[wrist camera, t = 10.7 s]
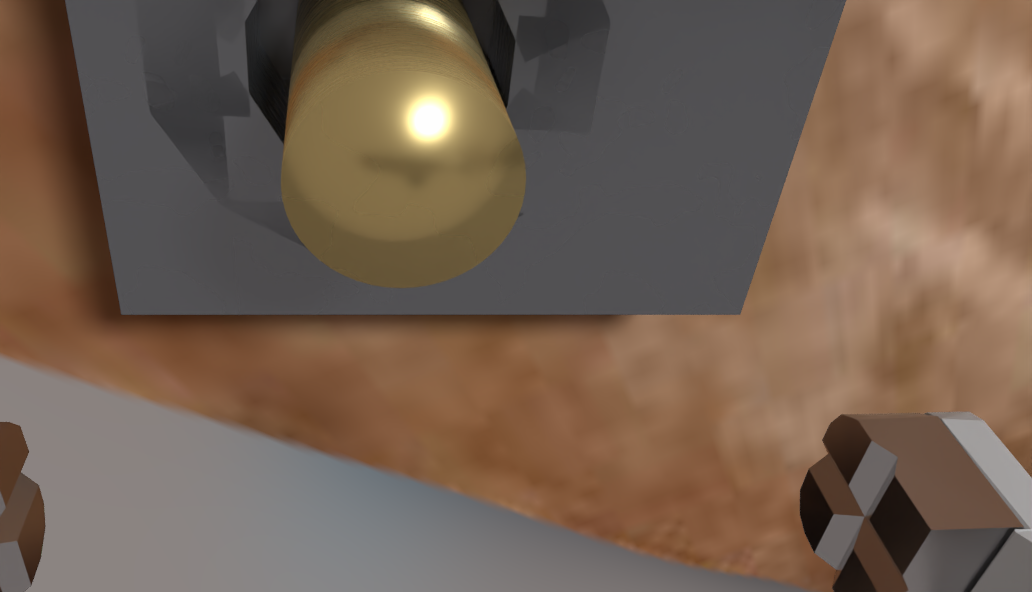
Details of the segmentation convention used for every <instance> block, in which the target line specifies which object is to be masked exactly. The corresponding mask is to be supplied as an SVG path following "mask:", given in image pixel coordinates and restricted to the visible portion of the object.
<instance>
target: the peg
mask: <svg viewBox="0 0 1032 592" xmlns="http://www.w3.org/2000/svg"><path fill="white" fill-rule="evenodd" d="M525 187H526V168H525V161H524V157H523V152H522V149H521V146H520V143H519V141H518V138H517V136H516V133H515V131H514V128H513V126H512V123H511V121H510V118H509V116H508V113H507V111H506V108H505V106H504V103H503V101H502V98H501V96H500V94H499V91H498V89H497V86H496V84H495V81H494V79H493V76H492V74H491V71H490V69H489V66H488V64H487V61H486V59H485V56H484V54H483V51H482V49H481V46H480V44H479V42H478V39H477V37H476V34H475V32H474V29H473V27H472V24H471V22H470V19H469V17H468V14H467V12H466V9H465V7H464V4H463V2H462V0H299V2H298V8H297V15H296V25H295V36H294V46H293V56H292V66H291V77H290V87H289V97H288V107H287V118H286V128H285V138H284V148H283V158H282V169H281V192H282V200H283V204H284V208H285V211H286V215H287V217H288V219H289V221H290V224H291V226H292V228H293V230H294V231H295V233H296V234H297V236H298V238H299V239H300V240H301V242H302V243H303V244H304V245H305V246H306V248H307V249H308V250H309V251H310V252H311V253H312V254H313V255H314V256H315V257H316V258H318V259H319V260H320V261H321V262H323V263H324V264H325V265H327V266H328V267H330V268H331V269H333V270H335V271H336V272H338V273H340V274H342V275H344V276H346V277H349V278H351V279H354V280H356V281H359V282H363V283H366V284H370V285H375V286H381V287H388V288H415V287H422V286H428V285H433V284H436V283H440V282H444V281H446V280H449V279H452V278H454V277H457V276H459V275H461V274H463V273H465V272H467V271H469V270H470V269H472V268H473V267H475V266H476V265H478V264H479V263H481V262H482V261H484V260H485V259H486V258H487V257H488V256H489V255H491V254H492V253H493V252H494V251H495V250H496V249H497V248H498V247H499V245H500V244H501V243H502V242H503V241H504V239H505V238H506V237H507V235H508V234H509V232H510V231H511V229H512V227H513V226H514V224H515V222H516V220H517V218H518V215H519V213H520V210H521V207H522V204H523V199H524V195H525Z"/></svg>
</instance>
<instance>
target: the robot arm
mask: <svg viewBox="0 0 1032 592" xmlns="http://www.w3.org/2000/svg"><path fill="white" fill-rule="evenodd" d="M822 441H823V443H824V445H825V448H826V450H827V452H828V455H826V456H825V457H824V458H822V459H821V460H820V461H818V462H817V463H816V464H814V465H813V466H812V467H810V468H809V470H808V472H807V474H806V477H805V479H804V482H803V484H802V487H801V489H800V517H801V521H802V524H803V528H804V532H805V535H806V537H807V539H808V541H809V543H810V545H811V547H812V549H813V551H814V553H815V554H817V555H818V556H819V557H820V558H822V559H823V560H824V561H826V562H827V563H828V564H830V565H831V566H832V567H833V568H835V569H836V573H835V578H834V582H833V587H832V589H833V590H834V592H1032V478H1031V477H1030V475H1029V474H1028V473H1027V472H1026V471H1025V470H1024V468H1023V467H1022V466H1021V465H1020V464H1019V462H1018V461H1017V460H1016V459H1015V458H1014V456H1013V455H1012V454H1011V453H1010V452H1009V450H1008V449H1007V448H1006V447H1005V446H1004V444H1003V443H1002V442H1001V441H1000V440H999V438H998V437H997V436H996V435H995V434H994V432H993V431H992V430H991V429H990V428H989V426H988V425H987V424H986V423H985V422H984V421H983V420H982V419H981V418H979V417H977V416H975V415H974V414H972V413H970V412H932V413H924V414H921V413H890V414H841V415H840V416H839V417H838V418H836V419H835V420H834V421H833V422H831V423H830V425H829V427H828V429H827V431H826V433H825V435H824V437H823V439H822ZM28 453H29V450H28V447H27V444H26V441H25V439H24V436H23V433H22V430H21V427H20V426H18V425H16V424H13V423H10V422H0V592H24V591H25V590H27V589H28V588H29V587H30V586H31V585H32V582H33V579H34V576H35V573H36V570H37V567H38V564H39V562H40V559H41V553H42V546H43V539H44V533H45V514H44V503H43V499H42V495H41V491H40V488H39V485H38V484H36V483H35V482H34V481H32V480H31V479H29V478H28V477H27V476H25V475H24V474H22V473H21V470H22V468H23V465H24V463H25V460H26V458H27V456H28Z"/></svg>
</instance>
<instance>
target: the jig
mask: <svg viewBox="0 0 1032 592" xmlns="http://www.w3.org/2000/svg"><path fill="white" fill-rule="evenodd" d="M298 2H299V0H65V3H66V8H67V14H68V20H69V25H70V31H71V36H72V42H73V48H74V53H75V59H76V64H77V70H78V75H79V81H80V87H81V92H82V98H83V103H84V109H85V115H86V120H87V126H88V131H89V137H90V142H91V148H92V154H93V159H94V165H95V170H96V176H97V182H98V187H99V193H100V198H101V204H102V210H103V215H104V221H105V226H106V232H107V237H108V243H109V249H110V254H111V260H112V265H113V271H114V277H115V282H116V288H117V293H118V299H119V304H120V310H121V315H740V313H741V310H742V307H743V304H744V301H745V298H746V295H747V292H748V289H749V287H750V284H751V281H752V278H753V275H754V272H755V269H756V266H757V263H758V260H759V257H760V254H761V251H762V248H763V245H764V242H765V239H766V236H767V233H768V230H769V227H770V224H771V221H772V218H773V215H774V212H775V210H776V207H777V204H778V201H779V198H780V195H781V192H782V189H783V186H784V183H785V180H786V177H787V174H788V171H789V168H790V165H791V162H792V159H793V156H794V153H795V150H796V147H797V144H798V141H799V138H800V135H801V133H802V130H803V127H804V124H805V121H806V118H807V115H808V112H809V109H810V106H811V103H812V100H813V97H814V94H815V91H816V88H817V85H818V82H819V79H820V76H821V73H822V70H823V67H824V64H825V61H826V58H827V56H828V53H829V50H830V47H831V44H832V41H833V38H834V35H835V32H836V29H837V26H838V23H839V20H840V17H841V14H842V11H843V8H844V5H845V2H846V0H462V2H463V4H464V7H465V9H466V12H467V14H468V17H469V19H470V22H471V24H472V27H473V29H474V32H475V34H476V37H477V39H478V42H479V44H480V46H481V49H482V51H483V54H484V56H485V59H486V61H487V64H488V66H489V69H490V71H491V74H492V76H493V79H494V81H495V84H496V86H497V89H498V91H499V94H500V96H501V98H502V101H503V103H504V106H505V108H506V111H507V113H508V116H509V118H510V121H511V123H512V126H513V128H514V131H515V133H516V136H517V138H518V141H519V143H520V146H521V149H522V152H523V157H524V161H525V168H526V187H525V195H524V199H523V204H522V207H521V210H520V213H519V215H518V218H517V220H516V222H515V224H514V226H513V227H512V229H511V231H510V232H509V234H508V235H507V237H506V238H505V239H504V241H503V242H502V243H501V244H500V245H499V247H498V248H497V249H496V250H495V251H494V252H493V253H492V254H491V255H489V256H488V257H487V258H486V259H485V260H484V261H482V262H481V263H479V264H478V265H476V266H475V267H473V268H472V269H470V270H469V271H467V272H465V273H463V274H461V275H459V276H457V277H454V278H452V279H449V280H446V281H444V282H440V283H436V284H433V285H428V286H422V287H415V288H388V287H381V286H375V285H370V284H366V283H363V282H359V281H356V280H354V279H351V278H349V277H346V276H344V275H342V274H340V273H338V272H336V271H335V270H333V269H331V268H330V267H328V266H327V265H325V264H324V263H323V262H321V261H320V260H319V259H318V258H316V257H315V256H314V255H313V254H312V253H311V252H310V251H309V250H308V249H307V248H306V246H305V245H304V244H303V243H302V242H301V240H300V239H299V238H298V236H297V234H296V233H295V231H294V230H293V228H292V226H291V224H290V221H289V219H288V217H287V215H286V211H285V208H284V204H283V200H282V192H281V169H282V158H283V148H284V138H285V128H286V118H287V107H288V97H289V87H290V77H291V66H292V56H293V46H294V36H295V25H296V15H297V8H298Z"/></svg>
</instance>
